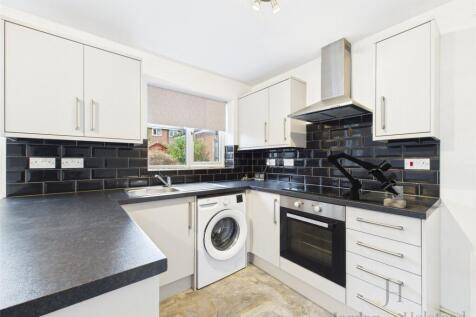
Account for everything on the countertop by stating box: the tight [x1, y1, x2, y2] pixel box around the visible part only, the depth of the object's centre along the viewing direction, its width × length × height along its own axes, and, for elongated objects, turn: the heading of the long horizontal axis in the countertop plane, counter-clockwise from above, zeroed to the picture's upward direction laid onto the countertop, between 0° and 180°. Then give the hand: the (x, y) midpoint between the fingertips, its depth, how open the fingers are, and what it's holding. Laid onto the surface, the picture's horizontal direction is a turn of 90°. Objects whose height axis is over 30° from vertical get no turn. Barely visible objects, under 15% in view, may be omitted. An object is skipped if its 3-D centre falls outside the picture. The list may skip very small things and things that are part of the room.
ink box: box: [391, 185, 404, 200], centre depth 138 cm, size 8×5×12 cm, turn 135°
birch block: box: [383, 198, 407, 209], centre depth 132 cm, size 10×7×4 cm
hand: (399, 194), depth 137 cm, fingers closed on ink box, 9 cm apart
